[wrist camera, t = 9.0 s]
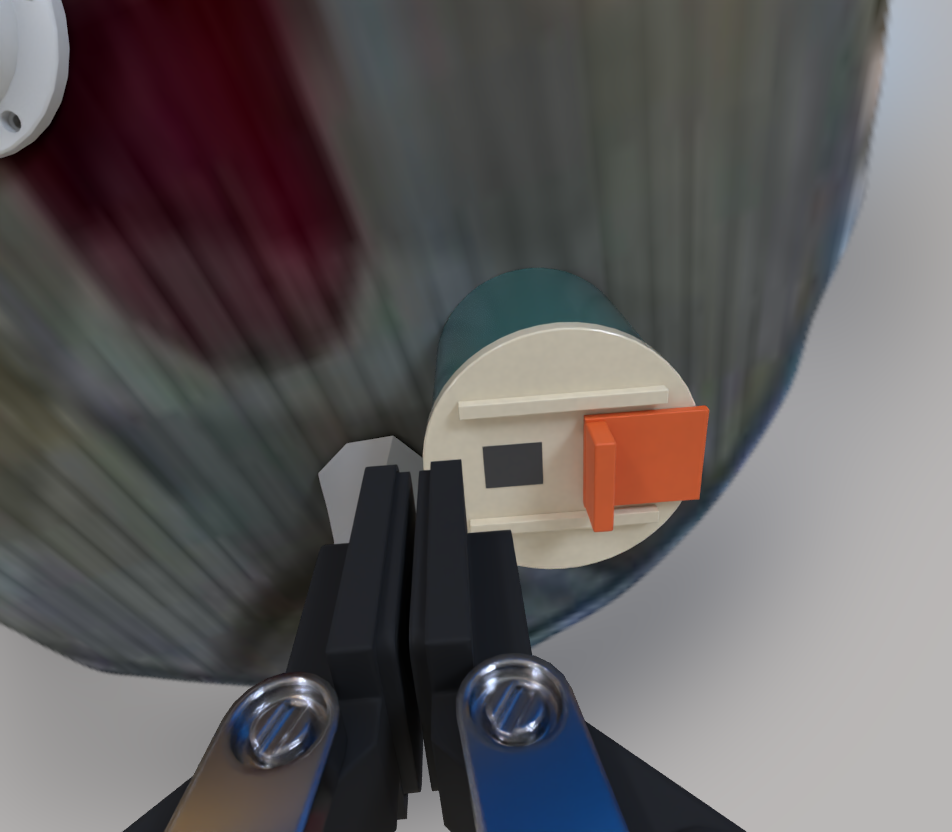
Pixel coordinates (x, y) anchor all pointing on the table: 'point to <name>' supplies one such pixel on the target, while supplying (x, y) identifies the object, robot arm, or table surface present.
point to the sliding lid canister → (542, 411)
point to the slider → (641, 459)
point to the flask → (361, 477)
